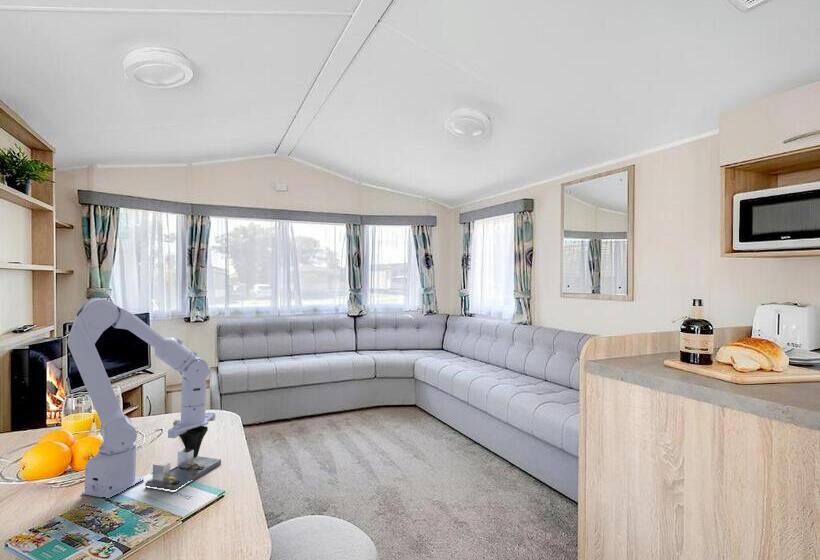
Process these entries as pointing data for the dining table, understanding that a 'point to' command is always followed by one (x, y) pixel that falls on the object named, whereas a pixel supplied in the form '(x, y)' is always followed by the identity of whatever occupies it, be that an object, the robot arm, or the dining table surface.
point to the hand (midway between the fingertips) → (192, 456)
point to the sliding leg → (186, 458)
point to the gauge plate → (180, 473)
